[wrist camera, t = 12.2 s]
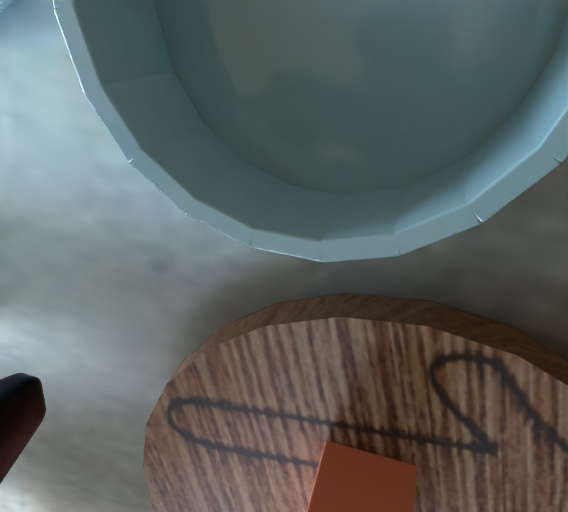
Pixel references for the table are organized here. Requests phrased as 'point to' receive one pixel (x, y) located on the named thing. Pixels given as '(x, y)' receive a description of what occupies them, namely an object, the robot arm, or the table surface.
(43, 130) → the table surface
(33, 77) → the table surface
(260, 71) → the pot
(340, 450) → the orange rectangular block
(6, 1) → the lid
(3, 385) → the robot arm
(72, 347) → the table surface
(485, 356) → the trivet
